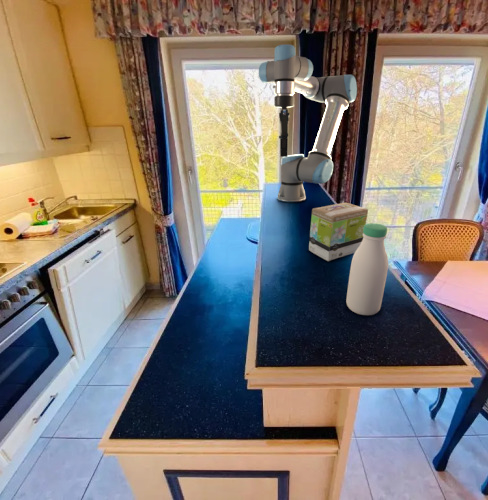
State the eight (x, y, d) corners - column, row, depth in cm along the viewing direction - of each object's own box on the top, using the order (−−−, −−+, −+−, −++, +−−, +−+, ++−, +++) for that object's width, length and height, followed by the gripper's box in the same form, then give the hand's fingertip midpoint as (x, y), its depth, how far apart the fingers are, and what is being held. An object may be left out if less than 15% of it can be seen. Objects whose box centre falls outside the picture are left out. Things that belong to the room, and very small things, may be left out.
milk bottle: (382, 318, 62) (400, 234, 53) (347, 314, 63) (358, 232, 54) (377, 298, 69) (391, 220, 60) (344, 295, 70) (354, 219, 61)
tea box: (329, 262, 85) (333, 216, 79) (308, 251, 93) (310, 208, 87) (362, 251, 93) (369, 208, 86) (340, 241, 100) (345, 200, 94)
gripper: (274, 97, 117) (274, 151, 126) (273, 92, 94) (274, 158, 103) (292, 97, 117) (291, 151, 126) (296, 92, 94) (294, 158, 103)
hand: (283, 154), depth 115 cm, fingers open, 13 cm apart
